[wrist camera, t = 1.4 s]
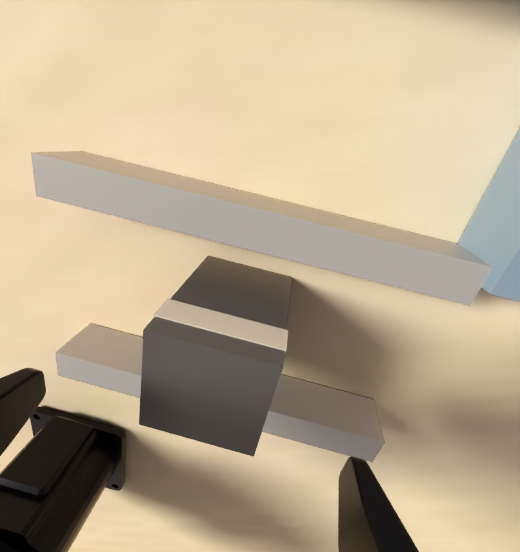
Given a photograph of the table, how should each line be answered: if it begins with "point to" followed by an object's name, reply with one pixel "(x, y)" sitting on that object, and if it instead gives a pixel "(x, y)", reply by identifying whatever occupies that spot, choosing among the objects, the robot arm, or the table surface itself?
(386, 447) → the table surface
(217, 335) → the grey capped block
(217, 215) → the grey rectangular bars
